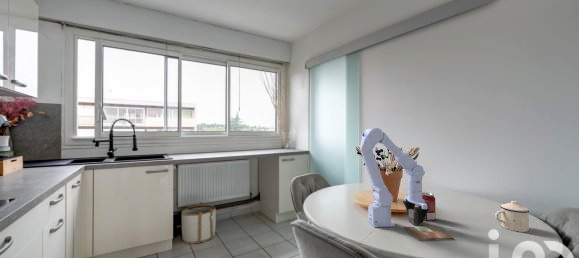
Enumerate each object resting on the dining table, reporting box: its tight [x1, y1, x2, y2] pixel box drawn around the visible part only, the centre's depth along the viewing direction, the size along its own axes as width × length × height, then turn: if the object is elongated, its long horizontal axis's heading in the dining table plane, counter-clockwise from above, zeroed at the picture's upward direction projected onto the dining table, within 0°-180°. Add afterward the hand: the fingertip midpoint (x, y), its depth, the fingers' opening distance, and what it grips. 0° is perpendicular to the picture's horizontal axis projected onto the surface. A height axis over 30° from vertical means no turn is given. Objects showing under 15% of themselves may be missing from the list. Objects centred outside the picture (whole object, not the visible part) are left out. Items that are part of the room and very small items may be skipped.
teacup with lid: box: [494, 200, 530, 233], centre depth 103 cm, size 12×9×12 cm
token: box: [408, 209, 423, 226], centre depth 109 cm, size 4×4×6 cm
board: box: [403, 225, 455, 242], centre depth 97 cm, size 14×11×1 cm
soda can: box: [422, 191, 437, 222], centre depth 114 cm, size 7×7×12 cm
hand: (415, 219), depth 109 cm, fingers open, 7 cm apart
